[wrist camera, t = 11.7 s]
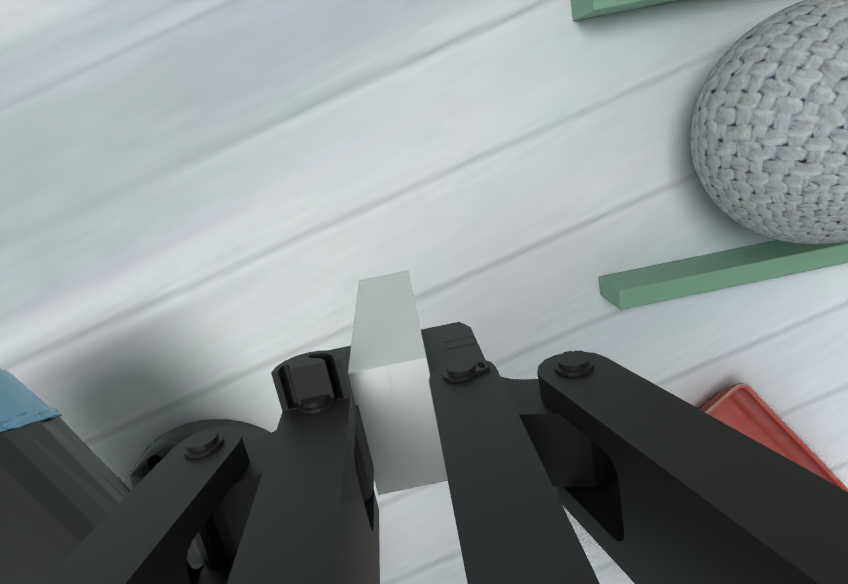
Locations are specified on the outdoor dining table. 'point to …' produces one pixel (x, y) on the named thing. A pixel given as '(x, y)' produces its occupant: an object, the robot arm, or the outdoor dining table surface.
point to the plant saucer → (764, 427)
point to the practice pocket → (711, 267)
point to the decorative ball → (780, 126)
